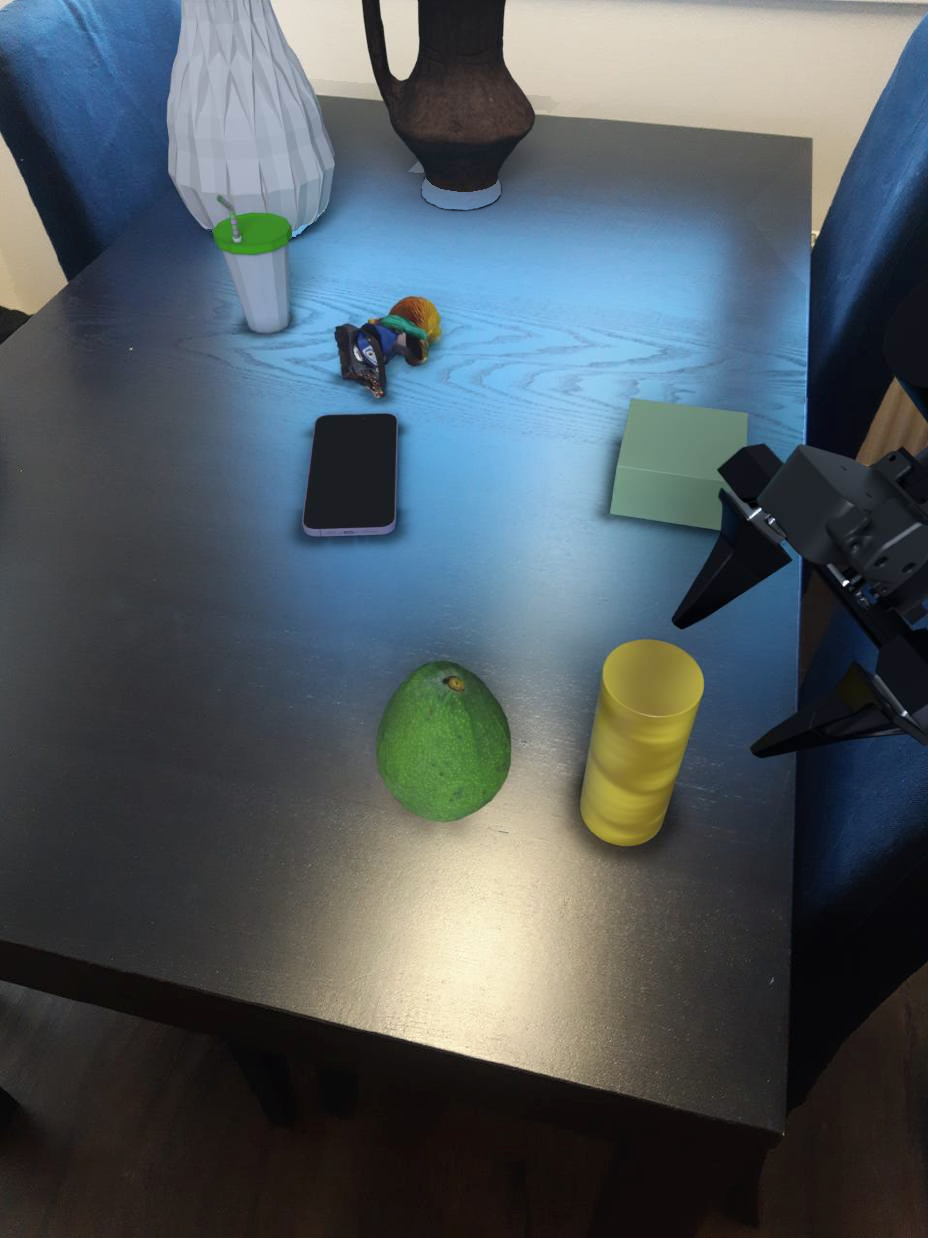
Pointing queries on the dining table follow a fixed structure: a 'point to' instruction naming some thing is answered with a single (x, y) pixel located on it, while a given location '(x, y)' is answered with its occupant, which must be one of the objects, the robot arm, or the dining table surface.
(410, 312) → the figurine
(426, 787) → the fruit
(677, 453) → the green block
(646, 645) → the yellow tumbler
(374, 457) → the smartphone
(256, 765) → the dining table surface
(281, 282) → the cup
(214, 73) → the vase
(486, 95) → the jug
